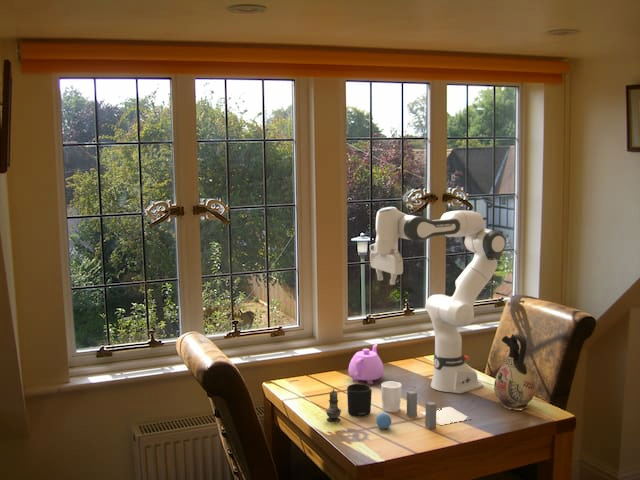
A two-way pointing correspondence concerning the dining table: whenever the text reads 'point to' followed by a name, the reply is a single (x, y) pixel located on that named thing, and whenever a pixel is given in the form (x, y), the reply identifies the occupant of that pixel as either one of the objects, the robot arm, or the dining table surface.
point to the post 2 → (430, 415)
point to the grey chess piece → (333, 408)
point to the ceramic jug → (514, 376)
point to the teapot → (366, 365)
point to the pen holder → (359, 400)
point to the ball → (383, 420)
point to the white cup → (391, 396)
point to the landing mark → (448, 416)
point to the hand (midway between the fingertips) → (386, 282)
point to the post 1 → (411, 403)
